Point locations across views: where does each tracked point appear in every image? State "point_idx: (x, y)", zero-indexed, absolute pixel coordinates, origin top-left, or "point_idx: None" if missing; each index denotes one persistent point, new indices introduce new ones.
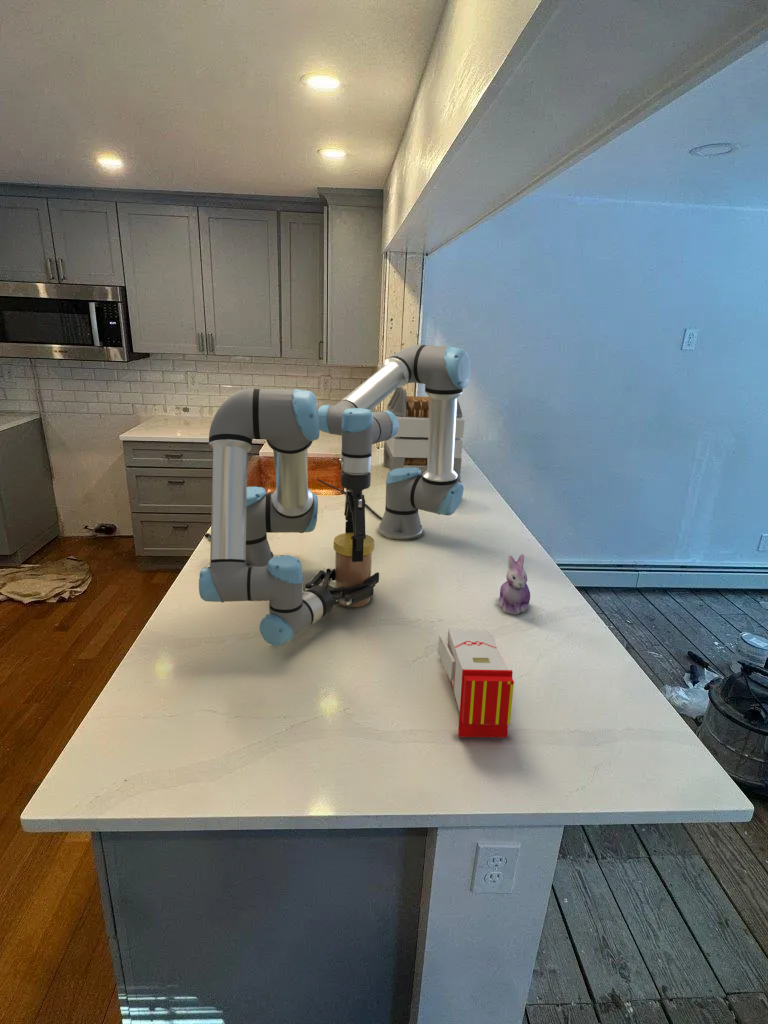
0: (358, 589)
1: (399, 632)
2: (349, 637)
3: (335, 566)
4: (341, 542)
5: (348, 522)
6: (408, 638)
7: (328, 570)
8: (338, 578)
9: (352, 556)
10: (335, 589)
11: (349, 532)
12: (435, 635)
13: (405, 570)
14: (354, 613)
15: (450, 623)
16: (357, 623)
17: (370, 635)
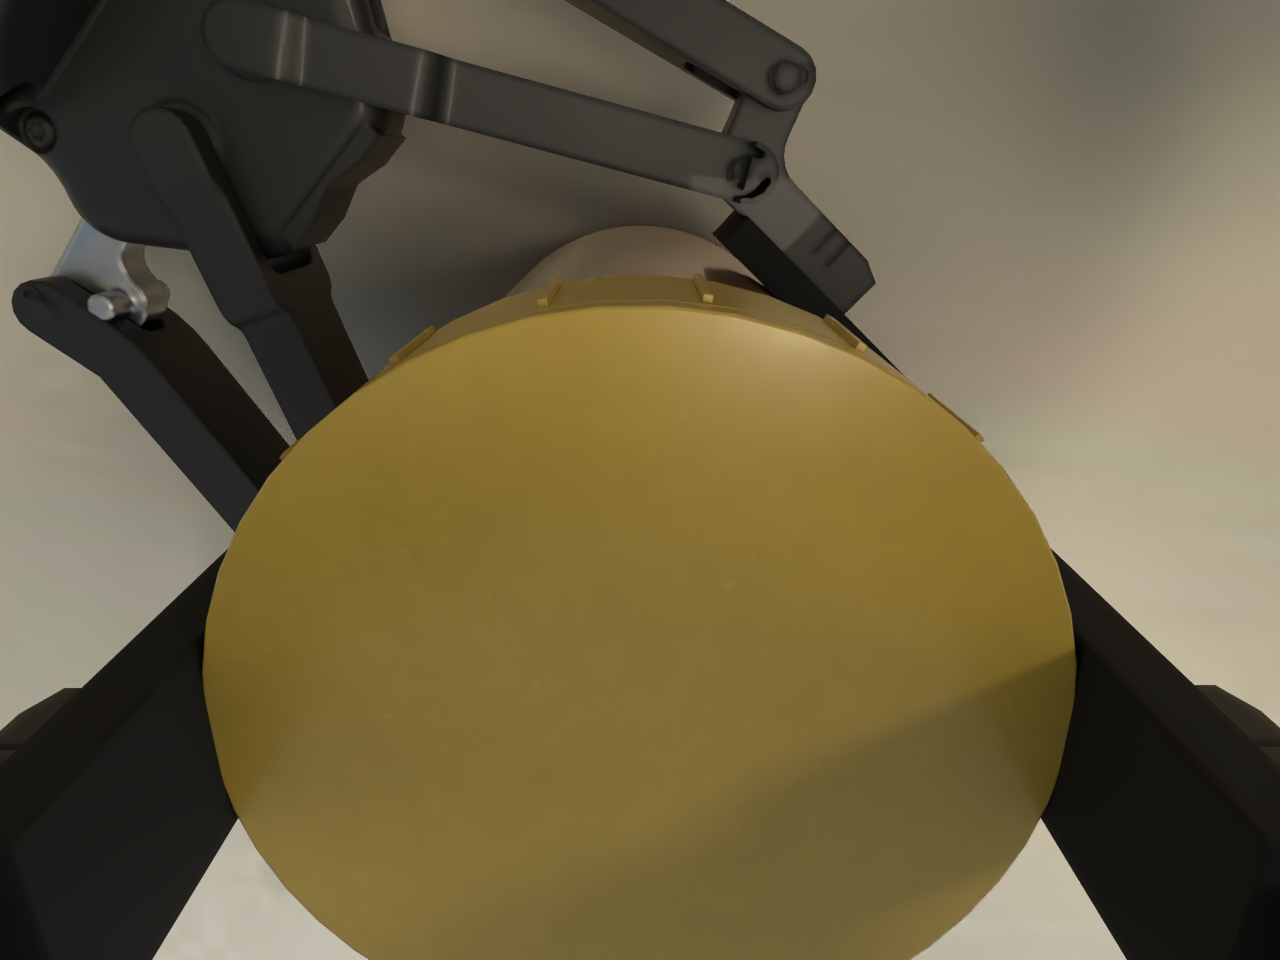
0: None
1: (112, 622)
2: (6, 255)
3: (642, 265)
4: (521, 469)
5: (1243, 897)
6: (39, 658)
7: (747, 172)
8: (536, 276)
9: (220, 565)
10: (159, 186)
11: (1075, 719)
12: None
13: (1025, 852)
14: (387, 358)
15: (240, 919)
16: (226, 355)
17: (53, 421)
